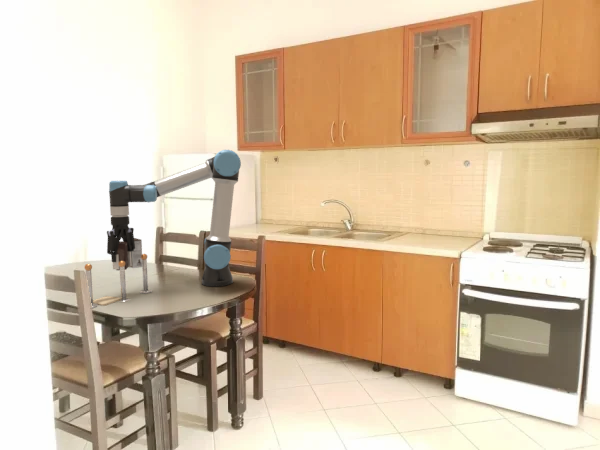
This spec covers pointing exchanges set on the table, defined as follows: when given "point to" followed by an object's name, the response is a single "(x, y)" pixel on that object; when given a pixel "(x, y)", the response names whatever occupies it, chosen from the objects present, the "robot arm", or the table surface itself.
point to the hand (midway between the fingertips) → (122, 267)
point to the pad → (106, 300)
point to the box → (123, 253)
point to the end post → (90, 282)
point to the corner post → (122, 282)
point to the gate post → (145, 275)
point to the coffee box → (137, 254)
